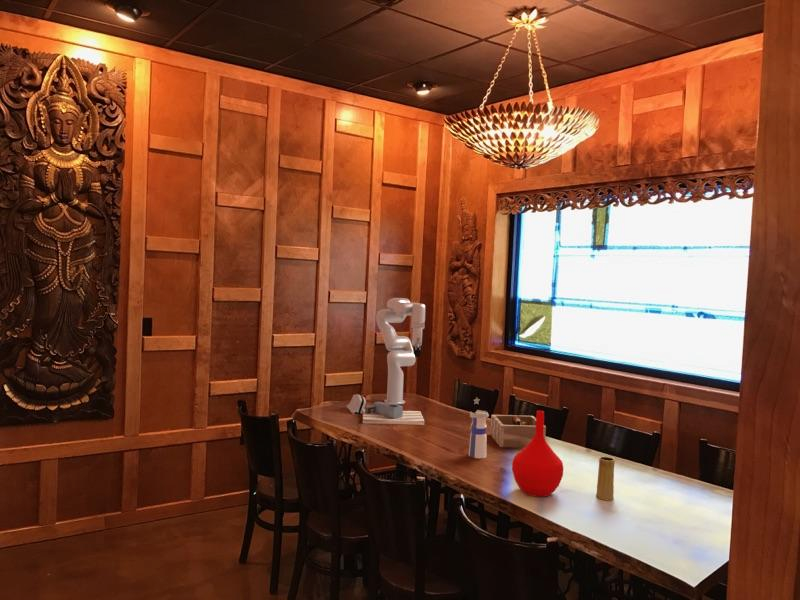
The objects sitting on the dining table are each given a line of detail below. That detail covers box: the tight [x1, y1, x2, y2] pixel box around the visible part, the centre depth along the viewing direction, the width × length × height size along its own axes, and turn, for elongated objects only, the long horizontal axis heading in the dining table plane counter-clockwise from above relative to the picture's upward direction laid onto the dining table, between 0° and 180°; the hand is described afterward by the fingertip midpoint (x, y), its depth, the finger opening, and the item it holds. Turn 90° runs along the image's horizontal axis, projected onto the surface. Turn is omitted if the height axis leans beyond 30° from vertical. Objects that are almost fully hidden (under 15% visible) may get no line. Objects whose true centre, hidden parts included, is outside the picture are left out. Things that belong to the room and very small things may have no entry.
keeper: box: [364, 404, 374, 414], centre depth 336 cm, size 4×9×5 cm, turn 138°
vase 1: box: [511, 410, 564, 498], centre depth 225 cm, size 18×18×30 cm
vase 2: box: [595, 456, 615, 501], centre depth 222 cm, size 6×6×14 cm
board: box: [362, 409, 425, 426], centre depth 331 cm, size 23×32×2 cm
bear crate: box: [489, 414, 547, 449], centre depth 295 cm, size 22×21×10 cm
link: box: [370, 401, 404, 419], centre depth 331 cm, size 20×7×6 cm, turn 48°
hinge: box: [346, 394, 367, 415], centre depth 347 cm, size 17×5×10 cm, turn 19°
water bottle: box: [468, 397, 490, 459], centre depth 268 cm, size 8×9×25 cm
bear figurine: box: [511, 414, 527, 425], centre depth 296 cm, size 14×15×12 cm
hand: (416, 355), depth 348 cm, fingers open, 9 cm apart
